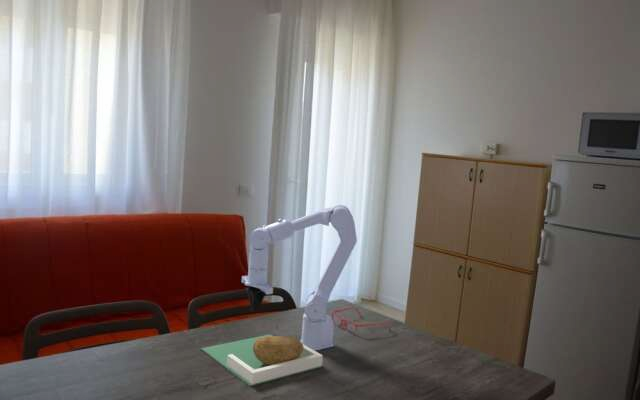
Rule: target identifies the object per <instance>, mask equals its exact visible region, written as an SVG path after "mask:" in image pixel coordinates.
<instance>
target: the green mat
mask: <svg viewBox="0 0 640 400" xmlns="http://www.w3.org/2000/svg"><path fill="white" fill-rule="evenodd" d="M272 336H273V335H272V334H264V335H260V336H255V337H249V338H245V339H240V340H235V341H231V342H225V343H220V344H216V345H211V346H206V347H201V348H200V349H201V351H202V352H204V353H205V354H206V355H208V356H209V357H210V358H211V359H213V360H214V361H216V362H217V364H219V365H221V366H222V367H224V368H225V369H227V370H228V371H229V372H230V373H232V374H233V375H234V376H236V378H238V379H239V380H241V381H242V382H244V383H245V384H246V385H247V386H249V387H254V386H257V385H260V384H263V383H268V382H272V381H275V380H278V379H283V378H286V377H290V376H293V375H297V374H301V373H304V372H308V371H312V370H316V369H320V368H322V367H324V364H322V366H319V367H315V368H311V369H307V370H304V371H300V372H296V373H293V374H289V375H285V376H281V377H278V378H274V379H270V380H267V381H263V382H259V383H255V384H251V383H249V382H248V381H247V380H245V379H244V378H242V377H241V376H240V375H238V374H237V373H236V372H234V371H233V370H232V369H230V368H229V367H228V366H227V355H229V354H233V355H234V356H236V357H237V358H239V359H240V360H242V361H243V362H244V363H246V364H247V365H249V366H250V367H252V368H253V369H254V370H255V369H259V368H263V367H267V366H268V365H265V364H263V363H261V362H260V361H259V360H258V359H257V358H256V356H255V354H254V352H253V346H254V343H255V341H256V340H257V339H258V338H260V337H272ZM299 358H302V357H300V356H299V357H298V358H297V359H299Z"/></svg>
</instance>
